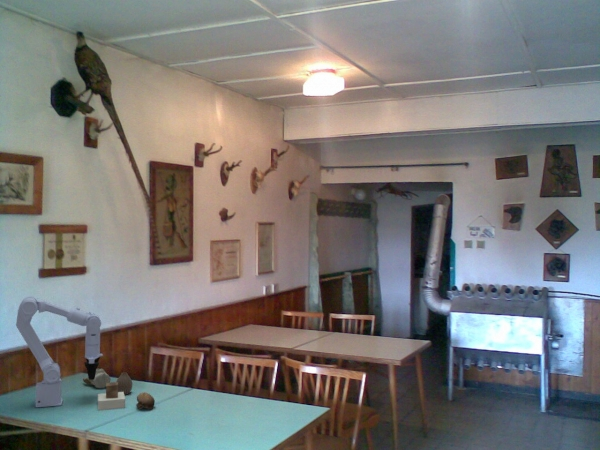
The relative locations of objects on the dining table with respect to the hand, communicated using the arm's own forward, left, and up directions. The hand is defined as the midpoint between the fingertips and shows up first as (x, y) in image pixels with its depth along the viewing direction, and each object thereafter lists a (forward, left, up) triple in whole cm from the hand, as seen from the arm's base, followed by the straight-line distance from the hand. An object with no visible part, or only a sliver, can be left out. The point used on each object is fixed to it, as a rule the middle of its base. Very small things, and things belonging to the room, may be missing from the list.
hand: (92, 376), depth 240 cm
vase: (+13, +5, -10) cm, 17 cm away
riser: (+8, -9, -10) cm, 16 cm away
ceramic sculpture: (+2, +20, -10) cm, 23 cm away
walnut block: (+8, -10, -6) cm, 14 cm away
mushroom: (+21, -17, -10) cm, 28 cm away
